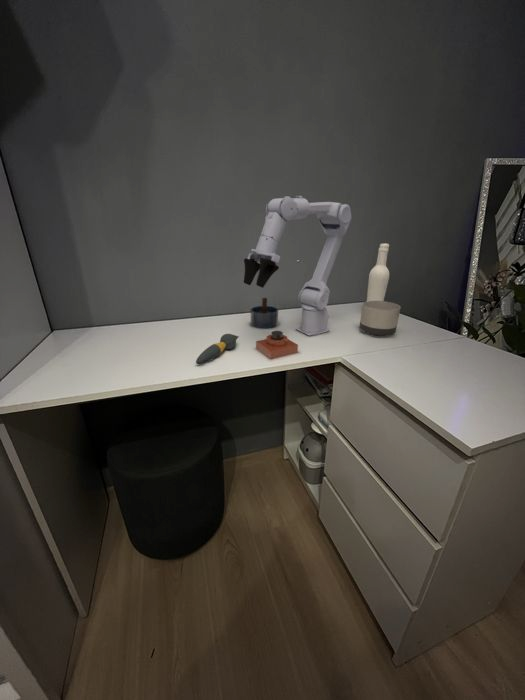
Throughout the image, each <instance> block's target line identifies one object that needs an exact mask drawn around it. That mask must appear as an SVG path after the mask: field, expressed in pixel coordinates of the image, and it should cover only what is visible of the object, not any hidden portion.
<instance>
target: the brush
mask: <svg viewBox="0 0 525 700" xmlns="http://www.w3.org/2000/svg"><path fill="white" fill-rule="evenodd" d="M261 299H262V301H261V306H262V311H259V312H258V313H271V312H269V311H267V306H268V298H267V297H262V298H261Z"/></svg>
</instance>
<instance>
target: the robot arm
mask: <svg viewBox="0 0 525 700" xmlns="http://www.w3.org/2000/svg"><path fill="white" fill-rule="evenodd" d="M265 215H266V216H265V218H264V220H265V221H264V224H263V227H262V230H261V233H260V235H259V239H258V241H257V243H256V247H255V248H251V250H250V252H249V253H248V256H247V258H246V257H245V258H244V259H243V263H244V275H243V283H244V284H246V285H248V286H251V285H252V283H253V281H254V279H255V277H256V275H257V274H258V275H257V278H256V284H255V285H256V286H258V287H259V288H264V287H265V286H266V284H267V282H268V281H269V280H270V279H271V277H272V276H273V275H274V274H275V273H276V272H277V271H278V270H279V268H280V266H279V265H277V264H279V262H280V260H281V256H280V255H278V254H277V253H276V252H277V250H278V247H279V244H280V241H281V239H282V235H283V233H284V231H285V228H286V225H287V222H290V221H295V220H304V219H306V218H307V217H308V216H309V215H316V218H317V220H318V222H319V225H320V227H321V229H322V231H323V233H324V234H326V240H325V242H324V244H323V248H322V251H321V253H320V256H319V259H318V261H317V264H316V267H315V269H314V272H313V275H312V277H311V279H309V280H308V281H306V282H305V283H304V284H303V287H302V288H301V289H300V291H299V293H298V295H297V300H298V303H299V304H300V308H302V309H301V323H300V324H301V325H300V327H296V328H295V330H296V331H298V332H300V333H302V334H304V335H306V336H309V337H311V336H314V335H319V334H323V333H324V334H325V333H329V329H328V325H329V311H328V309H327V305H328V303H329V298H330V297H329V296H330V293H331V290H330V289H329V287H328V285H327V282H328V280H329V277H330V275H331V272H332V269H333V267H334V265H335V262H336V260H337V256H338V253H339V251H340V248H341V246H342V244H343V240H344V238H345V235H346V234H347V231H348V229H349V226H350V223H351V221H352V219H353V218H352V217H353V216H352V210H351V207H350V205H349V204H348V203H344V204H343V203H341V202H333V201H320V202H319V201H318V202H309V200H308V199H306V198H305V197H303V195H296V196H295V197H290V196H284V197H279V198H272V199H271V200H269V202H268V203H267V204H266V207H265Z"/></svg>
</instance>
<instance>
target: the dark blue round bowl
mask: <svg viewBox="0 0 525 700" xmlns="http://www.w3.org/2000/svg"><path fill="white" fill-rule="evenodd" d="M259 311H262V305H258V306H254V307H251V308H250V326H251V327H253V328H256V329H261V330H262V329H265V330H266V329H267V330H268V329H274V328H276V327H277V326H278V325H279V309H278V307H275V306H272V305H271V306H270V305H267V311H269V312H271V313H258V312H259Z"/></svg>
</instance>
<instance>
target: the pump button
mask: <svg viewBox="0 0 525 700" xmlns="http://www.w3.org/2000/svg"><path fill="white" fill-rule="evenodd" d="M270 335H271V339H273V340H282V339H283V335H284V332H283V331H281V330H273V331H271V333H270Z"/></svg>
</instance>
